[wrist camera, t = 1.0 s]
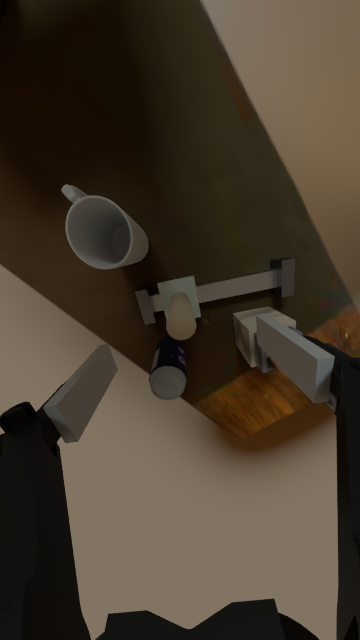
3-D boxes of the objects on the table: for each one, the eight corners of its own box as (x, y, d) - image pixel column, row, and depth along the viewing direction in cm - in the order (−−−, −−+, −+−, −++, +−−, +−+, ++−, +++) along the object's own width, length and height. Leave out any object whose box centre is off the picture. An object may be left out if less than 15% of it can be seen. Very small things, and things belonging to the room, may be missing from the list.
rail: (139, 288, 31) (134, 291, 28) (281, 257, 29) (295, 257, 26) (148, 318, 33) (144, 324, 30) (281, 291, 31) (293, 295, 28)
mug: (158, 248, 29) (146, 243, 17) (129, 272, 30) (100, 282, 19) (117, 191, 26) (70, 140, 14) (87, 221, 27) (22, 195, 16)
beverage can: (171, 361, 37) (169, 407, 25) (151, 346, 35) (139, 388, 24) (189, 344, 35) (195, 385, 24) (169, 328, 34) (165, 363, 23)
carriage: (159, 281, 30) (144, 300, 17) (192, 274, 30) (204, 288, 16) (168, 316, 33) (161, 359, 19) (198, 310, 32) (213, 349, 19)
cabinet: (232, 313, 33) (256, 337, 23) (268, 306, 32) (308, 327, 23) (235, 345, 35) (258, 378, 26) (269, 338, 35) (305, 370, 25)
